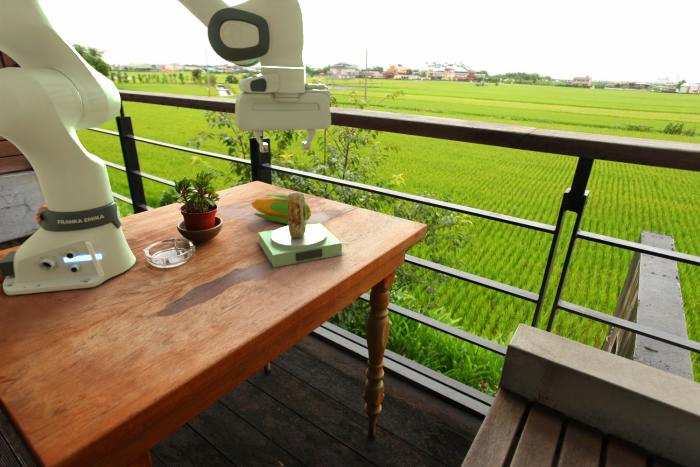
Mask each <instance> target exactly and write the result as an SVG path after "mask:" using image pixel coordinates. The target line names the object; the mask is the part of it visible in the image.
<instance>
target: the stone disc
mask: <svg viewBox="0 0 700 467" xmlns="http://www.w3.org/2000/svg"><path fill="white" fill-rule="evenodd" d="M287 196H288V222H289V224H287V226H289V233H290V237H292V238H299V237H303V236H304V234H305V230H306V225H307V221H306V206H305V202H306V197H305V194H304V193H302V192H289V193H288V195H287Z"/></svg>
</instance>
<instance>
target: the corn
mask: <svg viewBox="0 0 700 467" xmlns="http://www.w3.org/2000/svg"><path fill="white" fill-rule="evenodd" d="M266 196H268V197H269V198H268V197H267V198H266V197H265V198H257V199H255V200H253V201H252V202H251V206H252V207H253V208H254V209H255V210H256V211H258V212H259V213H257V212H256V213H254V216H256V217H259V218H261V219H264V220H266V221H270V222H273V223H277V224H278V223H279V224H284V225H289V222H288V195H286V194H285V195H284V194H276V193H275V194H273V193H272V194H270V193H269V194H266ZM305 206H306V222H307V221H308V220H309V219H310V218H311V216H312V211H311V208H310V206H309V204H308V203H307V202H306V201H305Z"/></svg>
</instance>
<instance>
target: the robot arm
mask: <svg viewBox="0 0 700 467" xmlns="http://www.w3.org/2000/svg"><path fill="white" fill-rule="evenodd" d="M177 1H178V2H179V3H180V4H181V5H183V7H185V8H186V9H187V10H188V11H189V12H190V13H191V14H192V15H193V16H194V17H195V18H196V19H197V20H198V21H200V22H201V23H202V24H203V25H204V26H205V27H206V28H207V38H208V42H209V45H210V46H211V48H212V50H213V51H214V53H215V54H216V55H217V56H218V57H220V58H221V59H223V60H224V61H226V62H229V63H231V64H233V65H235V66H237V67H241V68H250V67H253V66H256V65H257V64H259V63H260V73H259V74H254V75H252V76H249V77H246V78H243V79H240V80H239V81H238V89H239V90H240V91H241V92H240V93H239V94H238V95H236V99H235V106H234V122H235V123H234V124H235V127H236V128H237V129H238V130H239V131H241V132H253V136H254V138H255V140H256V141H257V143H258V144H259V152H260V153H262V154H263V153H269V143H267V142H264V141H263V140H262V138H261V137H262V136H263V131H264V132H266V131H304V130H305V131H306V132H305V133H306V134H308V135H306V136H307V137H306V139H305V141H301V145H302V146H301V150H302V151H305V152H307V151H311V149H312V148H311V143H312V142H313V140H314V138H315V136H316V130H328V129H329V128H330V127H331V125H332V114H331V106H330V103H331V100H332V99H331V98H332V96H331V95H332V94H331V90H330V88H328V86H325V84H322V83H318V84H315V83H306V65H305V61H304V50H305V47H306V35H305V33H306V32H305V18H304V11H303V7H302V4H301V3H300V1H299V0H246V1H244V2H242V3H241V2H240V3H239V4H235V5H232V6H229V5H228V4H227V3H226V2H225V1H224V0H177ZM0 52H2V53H3V54H6V56H8V57H9V58H11V59H12V60H13V61H14V62H15V63H16V64H18V66H20V67H18V66H17V67H16V66H9V67H7V66H6V67H2V68H0V137H2V138H3V139H6V140H7V141H8V142H10V143H11V144H13V146H14V147H16V148H17V149H18V150H19V151H20V152H21V154H22V155H23V156H24V157H25V158H26V159H27V161H28V162H29V164H30V166H31V167H32V169H33V171H34V173H35V175H36V178H37V180H38V184H39V187H40V190H41V192H42V196H43V198H44V201H45V203H43V204H41V205H40V207H39V208H38V209H37V210H38V211H37V213H36V217H35V220H36V224H38V225H39V227H40V228H38V229H37V230H36V231H35V232H34V233H33V234H32V235H31V236H29V238H27V239H26V240H25V241H24V242H23V243H22V244H21V245H20V246H19V247H18V248H17V249H16V250H14V251H9V252H8V253H7V254H6V255H5V256H4V257H2V258H1V259H0V274H1V276H2V277H5V278H4V280H3V282H2V289H3V292H4V294H5V295H7V296H17V295H29V294H38V293H47V292H49V293H50V292H57V291H58V292H59V291H69V290H77V289H79V290H80V289H89V288H95V287H97V286H100V285H101V284H102V283H104V282H106V281H107V280H109V279H111V278H113V277H116V276H118V275H121V274H123V273H124V272H126V271H128V270H129V269H131V268H132V267H133V266H134V265H135V264H136V262H137V257H136V256H135V255H134V253H133V251H132V250H131V247H130V246H129V243H128V241H127V238H126V237H125V234H124V232H123V229H122V222H123V221H122V216H121V212H120V207H119V205H118V202H117V199H116V198H114V194H113V191H112V185H111V182H110V177H109V172H108V168H107V165H106V163H105V162H104V160H103V159H101V158H100V157H99V156H97V155H95V154H93V153H91V152H88V151H87V149H85V147H84V146H83V144H82V143H81V141H80V140H79V137H78V135H77V133H76V131H81V130H87V129H94V128H98V127H100V126H102V125H105V124H107V123H110V122H111V121H113V120H114V119H115V118H117V116H118V115H119V114H120V111H121V107H122V100H121V96H120V93H119V90H118V88H117V87H116V86H115V84H114V83H113V81H112V80H110V79H109V78H108V77H107V76H105V75H104V74H102V73H100V72H99V71H97V70H96V69H95V68H94V67H93V66H91V65H90V64H89V63H88V61H86V59H84V58H83V57H82V56H81V55H80V53H79V52H78V51H77V50H76V49H75V47H74V46H73V45H72V44H71V43H70V42H69V40H68V38H66V37H65V35H64V33H63V32H62V31H61V29H60V28H59V26H58V25H57V23H56V21H55V20H54V18H53V16H52V14H51V12H50V10H49V8H48V7H47V5H46V3H45V1H44V0H0Z"/></svg>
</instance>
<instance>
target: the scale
mask: <svg viewBox="0 0 700 467" xmlns="http://www.w3.org/2000/svg"><path fill="white" fill-rule="evenodd" d="M257 234H258V244H259V245H260V247H261V250H263V253H264V254H265V256H266V257H267V259H268V261H269V262H270V264H271V265H272V267H273V268H279V267H283V266H284V267H285V266H289V265H294V264H300V263H305V262H311V261H316V260H317V261H318V260H321V259H326V258H333V257H336V256H342V255H343V243H342V241H341V240H339V239H338V238H337V237H336V236H335V235H333V233H332V232H330V231H329V230H328V228H326V227H325V226H324V225H323V224H321V223H320V222H319V223H313V224H306V230H305V234H304V236H303V237H299V238H292V237H290V233H289V226H288V225H286V226H282V227H278V228H275V229H271V230H264V231H258V232H257Z"/></svg>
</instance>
